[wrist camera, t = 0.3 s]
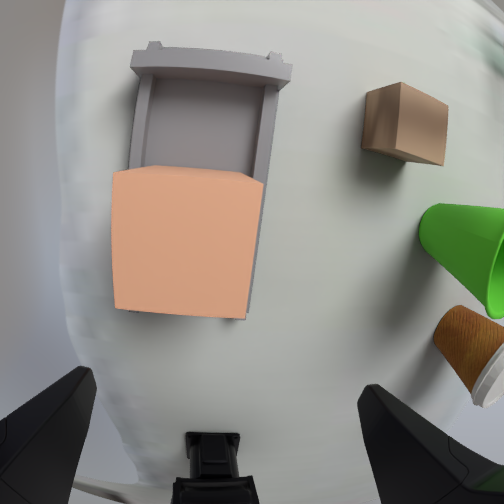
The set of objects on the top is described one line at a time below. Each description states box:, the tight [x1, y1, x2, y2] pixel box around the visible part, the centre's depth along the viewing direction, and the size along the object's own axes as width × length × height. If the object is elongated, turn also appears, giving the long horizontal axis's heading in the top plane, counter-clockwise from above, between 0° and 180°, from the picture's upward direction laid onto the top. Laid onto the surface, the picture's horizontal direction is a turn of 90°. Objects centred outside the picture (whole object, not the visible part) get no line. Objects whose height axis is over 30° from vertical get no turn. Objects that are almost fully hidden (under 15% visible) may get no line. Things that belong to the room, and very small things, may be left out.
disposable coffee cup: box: [434, 305, 504, 408], centre depth 24 cm, size 10×10×12 cm
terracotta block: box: [111, 165, 264, 319], centre depth 16 cm, size 6×6×9 cm
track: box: [128, 41, 292, 320], centre depth 19 cm, size 20×10×4 cm, turn 173°
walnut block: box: [361, 82, 448, 166], centre depth 19 cm, size 5×5×5 cm
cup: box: [419, 203, 504, 319], centre depth 19 cm, size 9×9×11 cm
